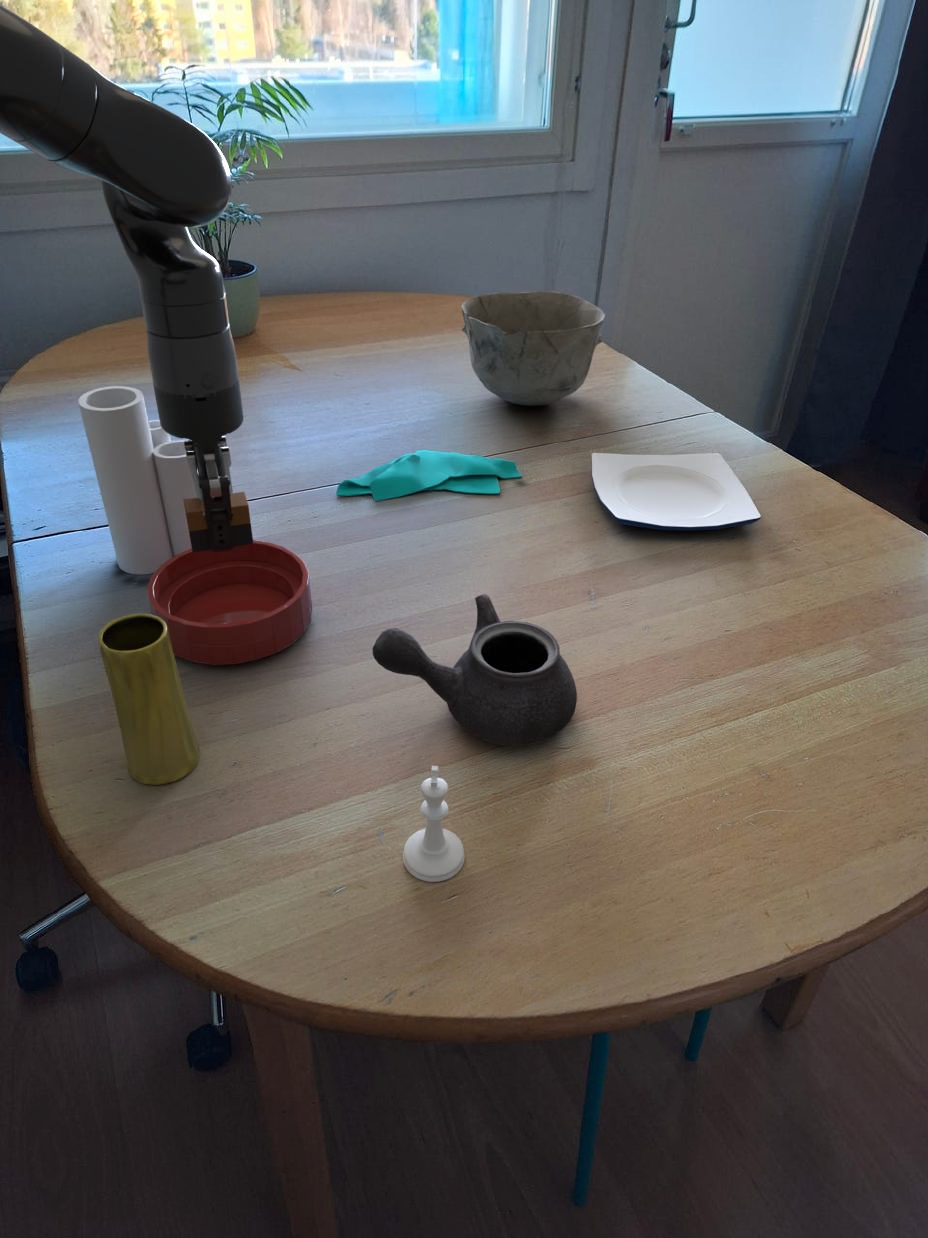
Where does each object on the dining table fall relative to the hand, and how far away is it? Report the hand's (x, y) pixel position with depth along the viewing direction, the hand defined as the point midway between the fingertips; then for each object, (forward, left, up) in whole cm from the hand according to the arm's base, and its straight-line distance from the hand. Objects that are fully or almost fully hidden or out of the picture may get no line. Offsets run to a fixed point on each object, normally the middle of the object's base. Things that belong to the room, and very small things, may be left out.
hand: (220, 539), depth 89 cm
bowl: (+54, +48, -10) cm, 73 cm away
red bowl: (0, -1, -10) cm, 10 cm away
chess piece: (+11, -37, -10) cm, 40 cm away
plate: (+59, +10, -10) cm, 61 cm away
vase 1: (-6, +15, -10) cm, 19 cm away
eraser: (0, 0, 0) cm, 0 cm away
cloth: (+30, +26, -10) cm, 41 cm away
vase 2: (-8, -20, -10) cm, 24 cm away
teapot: (+20, -21, -10) cm, 31 cm away
